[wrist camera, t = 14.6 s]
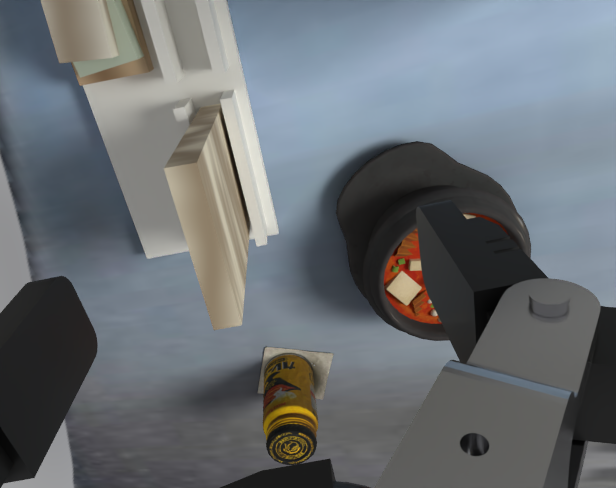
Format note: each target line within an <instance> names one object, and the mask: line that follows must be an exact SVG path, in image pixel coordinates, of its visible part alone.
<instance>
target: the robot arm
mask: <svg viewBox="0 0 616 488" xmlns="http://www.w3.org/2000/svg"><path fill="white" fill-rule="evenodd" d="M416 221H417V231H418V240H419V250H420V260H421V269H422V275H423V280H424V284H425V288H426V291H427V294H428V296H429V298H430V300H431V302H432V304H433V306H434V308H435V310H436V313H437V315H438V317H439V319H440V321H441V323H442V325H443V327H444V329H445V331H446V333H447V335H448V337H449V339H450V341H451V344H452V346H453V348H454V350H455V352H456V354H457V356H458V358H459V360H460V361H456V360H450V361H449V362H447V363H446V365H445V366H444V367H443V369H442V370H441V372H440V374H439V376H438V377H437V379H436V381H435V383H434V384H433V386H432V388H431V390H430V391H429V393H428V395H427V396H426V398H425V400H424V402H423V403H422V405H421V407H420V409H419V410H418V412H417V414H416V416H415V417H414V419H413V421H412V423H411V424H410V426H409V428H408V430H407V431H406V433H405V435H404V436H403V438H402V440H401V442H400V443H399V445H398V447H397V449H396V450H395V452H394V454H393V456H392V457H391V459H390V461H389V463H388V464H387V466H386V468H385V470H384V471H383V473H382V475H381V477H380V478H379V480H378V482H377V483H376V485H375V487H374V488H578V484H579V480H580V476H581V471H582V467H583V463H584V458H585V454H586V450H587V445H588V441H592V442H602V443H612V444H616V308H613V307H603V306H600V303H599V301H598V299H597V297H596V296H595V295H594V294H593V293H592V292H590V291H589V290H588V289H586V288H584V287H582V286H580V285H577V284H575V283H572V282H568V281H564V280H559V279H549V278H548V277H547V276H546V275H545V274H544V273H543V272H542V271H541V270H540V269H539V268H538V267H537V265H536V264H535V263H534V262H533V261H532V260H531V259H530V258H529V257H528V256H527V255H526V254H525V253H524V252H523V250H522V249H519V246H518V245H517V244H516V243H515V242H514V241H513V240H512V239H510V237H509V235H508V234H507V233H506V232H505V231H504V230H503V229H502V228H501V227H500V226H499V225H498V224H495V223H493V222H491V221H488V220H486V219H484V218H482V217H475V218H470V219H466V217H465V216H464V215H463V214H462V212H461V211H460V210H459V209H458V208H457V206H456V205H455V204H454V203H453V202H452V201H451V200H449V201H444V202H439V203H434V204H429V205H423V206H418V207H417V209H416ZM96 353H97V337H96V333H95V331H94V328H93V326H92V324H91V322H90V320H89V318H88V316H87V314H86V312H85V310H84V308H83V306H82V303H81V301H80V299H79V297H78V295H77V293H76V291H75V289H74V287H73V285H72V283H71V282H70V281H69V280H68V279H67V278H66V277H64V276H59V277H54V278H49V279H44V280H39V281H33V282H29V283H27V284H26V285H25V286H24V287H23V288H22V289H21V290H20V291H19V293H18V294H17V295H16V296H15V297H14V298H13V299H12V300H11V302H10V303H9V304H8V305H7V306H6V308H5V309H4V310H3V311H2V312H1V313H0V488H1V486H2V485H3V483H8V482H13V481H19V480H25V479H30V478H34V477H35V475H36V473H37V471H38V469H39V467H40V465H41V463H42V461H43V459H44V457H45V455H46V454H47V452H48V450H49V448H50V446H51V444H52V442H53V440H54V438H55V436H56V434H57V432H58V430H59V428H60V426H61V424H62V422H63V420H64V418H65V416H66V414H67V412H68V410H69V408H70V406H71V404H72V402H73V400H74V398H75V396H76V394H77V393H78V391H79V389H80V387H81V385H82V383H83V381H84V379H85V377H86V375H87V373H88V371H89V369H90V367H91V365H92V363H93V361H94V359H95V357H96ZM221 488H370V487H367V486H363V485H358V484H353V483H348V482H337V481H336V480H335V476H334V472H333V468H332V464H331V460H330V459H326V460H320V461H314V462H309V463H303V464H297V465H292V466H286V467H280V468H275V469H269V470H263V471H260V472H257V473H255V474H253V475H250V476H248V477H245V478H243V479H240V480H238V481H235V482H233V483H230V484H228V485H226V486H223V487H221Z"/></svg>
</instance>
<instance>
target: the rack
mask: <svg viewBox="0 0 616 488" xmlns="http://www.w3.org/2000/svg"><path fill="white" fill-rule="evenodd" d="M133 2H134V5H135V8H136V12H137V15H138V18H139V21H140V25H141V28H142V31H143V35H144V38H145V41H146V44H147V48H148V51H149V54H150V58H151V61H152V64H153V68H154V69H153V70H152V71H150V72H148V73H142V74H137V75H132V76H127V77H122V78H117V79H112V80H107V81H102V82H97V83H92V84H87V85H83V87H84V90H85V93H86V95H87V98H88V101H89V103H90V106H91V109H92V112H93V114H94V117H95V120H96V122H97V125H98V128H99V130H100V133H101V136H102V138H103V141H104V144H105V147H106V149H107V152H108V155H109V157H110V160H111V163H112V165H113V168H114V171H115V173H116V176H117V179H118V182H119V184H120V187H121V190H122V192H123V195H124V198H125V200H126V203H127V206H128V208H129V211H130V214H131V217H132V219H133V222H134V225H135V227H136V230H137V233H138V235H139V238H140V241H141V243H142V246H143V249H144V252H145V254H146V257H147V259H149V258H155V257H160V256H165V255H170V254H176V253H181V252H186V251H189V248H188V245H187V242H186V239H185V236H184V232H183V229H182V226H181V223H180V220H179V216H178V213H177V210H176V207H175V203H174V200H173V197H172V194H171V191H170V187H169V184H168V181H167V178H166V174H165V171H164V167H165V165H166V164H167V162H168V160H169V159H170V157H171V155H172V154H173V152H174V151H175V149H176V147H177V146H178V144H179V142H180V141H181V139H182V137H183V136H184V134H185V132H186V131H187V129H188V127H189V126H190V124H191V122H192V121H193V119H194V117H195V116H196V114H197V112H198V111H199V109H200V108H201V107H204V106H209V105H215V104H220V103H221V107H222V111H223V115H224V119H225V122H226V126H227V130H228V134H229V138H230V142H231V146H232V150H233V154H234V158H235V162H236V166H237V170H238V174H239V178H240V182H241V186H242V190H243V194H244V198H245V202H246V206H247V210H248V214H249V217H250V233H249V239H254V238H255V241H256V245H257V246H262V245H267V236H270V235H275V234H279V230H278V224H277V219H276V215H275V211H274V206H273V202H272V197H271V193H270V188H269V184H268V180H267V175H266V171H265V166H264V162H263V157H262V153H261V149H260V144H259V140H258V135H257V131H256V126H255V122H254V118H253V113H252V109H251V104H250V100H249V95H248V91H247V87H246V82H245V78H244V73H243V69H242V65H241V60H240V56H239V51H238V47H237V42H236V38H235V34H234V29H233V25H232V20H231V16H230V11H229V7H228V3H227V0H133Z"/></svg>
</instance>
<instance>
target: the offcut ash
mask: <svg viewBox="0 0 616 488" xmlns="http://www.w3.org/2000/svg"><path fill="white" fill-rule="evenodd" d="M41 3H42V7H43V10H44V14H45V17H46V20H47V24H48V27H49V30H50V34H51V37H52V40H53V44H54V47H55V50H56V54H57V57H58V61H59V63H68V62H78V61H87V60H97V59H107V58H114V57H116V56H119V51H118V47H117V43H116V39H115V34H114V30H113V26H112V22H111V18H110V14H109V10H108V6H107V2H106V0H41Z"/></svg>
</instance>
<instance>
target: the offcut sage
mask: <svg viewBox="0 0 616 488" xmlns="http://www.w3.org/2000/svg"><path fill="white" fill-rule="evenodd" d="M106 2H107V6H108V10H109V14H110V18H111V22H112V26H113V30H114V34H115V39H116V43H117V47H118V51H119V56H116V57H114V58H107V59H97V60H87V61H78V62H73V64H74V66H75V68H76V70H77V72H78V74H79V76H80V78H81V77H84V76H87V75H90V74H94V73H97V72H100V71H103V70H106V69H109V68H112V67H115V66H118V65H122V64H125V63H128V62H131V61H134V60H137V59H140V58H142V57H144V54H143V52H142V50H141V47H140V45H139V42H138V40H137V38H136V35H135V33H134V30H133V28H132V25H131V23H130V21H129V18H128V16H127V13H126V11H125V9H124V6H123V4H122V1H121V0H106Z"/></svg>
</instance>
